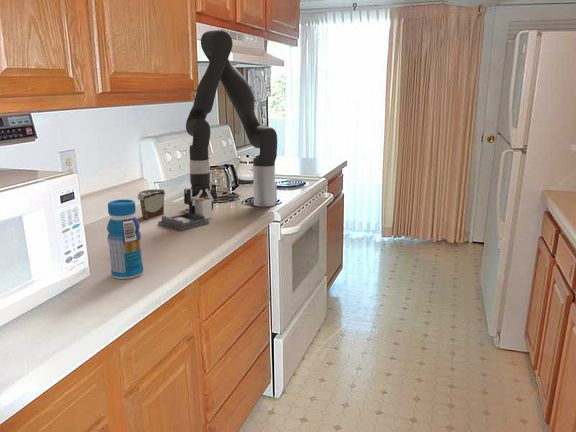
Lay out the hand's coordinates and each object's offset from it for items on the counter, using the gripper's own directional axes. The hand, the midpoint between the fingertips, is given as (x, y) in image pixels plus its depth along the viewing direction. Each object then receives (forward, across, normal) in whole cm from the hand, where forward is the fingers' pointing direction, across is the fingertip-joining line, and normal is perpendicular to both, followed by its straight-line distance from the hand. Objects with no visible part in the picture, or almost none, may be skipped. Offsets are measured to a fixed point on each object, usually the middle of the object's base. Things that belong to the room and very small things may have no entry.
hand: (201, 212), depth 189 cm
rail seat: (+2, +11, +3) cm, 12 cm away
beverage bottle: (+2, +52, +33) cm, 62 cm away
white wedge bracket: (+2, -7, -13) cm, 15 cm away
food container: (+2, +13, -16) cm, 21 cm away
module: (+2, 0, 0) cm, 2 cm away
